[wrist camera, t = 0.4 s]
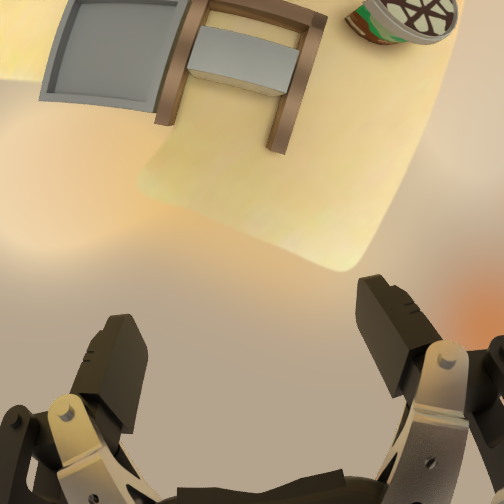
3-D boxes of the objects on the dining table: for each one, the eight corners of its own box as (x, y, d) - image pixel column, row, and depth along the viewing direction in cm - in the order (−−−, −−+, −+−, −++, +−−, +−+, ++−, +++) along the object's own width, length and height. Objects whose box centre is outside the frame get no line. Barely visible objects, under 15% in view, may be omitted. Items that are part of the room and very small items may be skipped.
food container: (358, 65, 28) (403, 54, 19) (334, 21, 26) (371, -4, 17) (427, 42, 26) (476, 34, 17) (407, 3, 24) (452, -15, 15)
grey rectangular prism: (205, 42, 26) (201, 25, 20) (284, 62, 28) (299, 50, 22) (194, 77, 28) (186, 68, 22) (273, 97, 30) (286, 93, 23)
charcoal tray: (79, -1, 21) (71, -7, 18) (192, 3, 24) (190, -5, 21) (49, 100, 26) (38, 101, 24) (157, 113, 29) (152, 113, 27)
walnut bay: (202, -7, 23) (200, -18, 20) (318, 24, 26) (328, 16, 23) (161, 122, 30) (154, 123, 27) (278, 150, 32) (284, 154, 29)
